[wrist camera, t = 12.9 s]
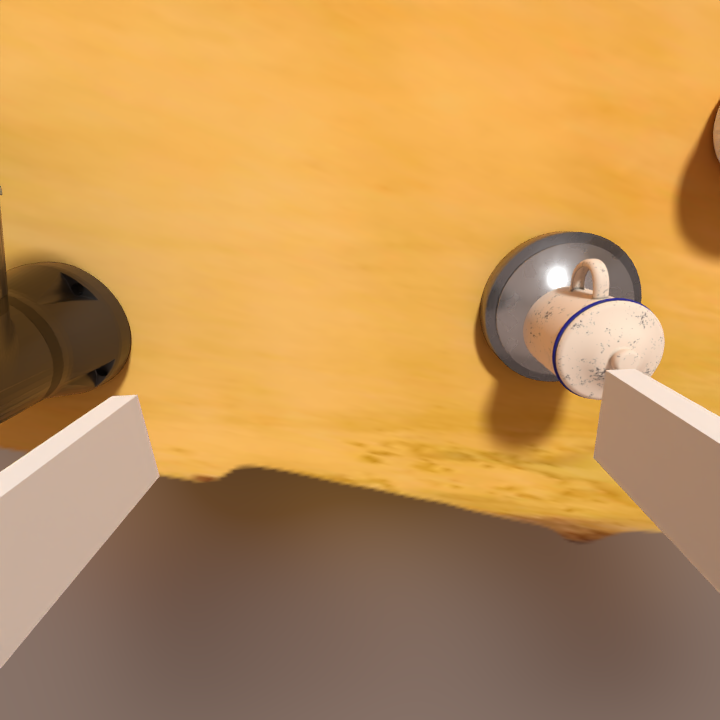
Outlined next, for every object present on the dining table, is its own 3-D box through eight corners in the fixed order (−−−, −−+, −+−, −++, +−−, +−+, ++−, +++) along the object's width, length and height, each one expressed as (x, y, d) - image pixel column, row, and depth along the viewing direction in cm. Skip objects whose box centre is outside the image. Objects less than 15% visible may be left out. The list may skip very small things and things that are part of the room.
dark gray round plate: (477, 376, 48) (484, 386, 45) (482, 236, 43) (490, 238, 40) (616, 369, 47) (631, 379, 44) (637, 226, 42) (656, 226, 39)
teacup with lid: (604, 361, 44) (682, 409, 33) (519, 370, 44) (567, 420, 33) (612, 248, 40) (704, 258, 29) (518, 260, 40) (573, 275, 29)
